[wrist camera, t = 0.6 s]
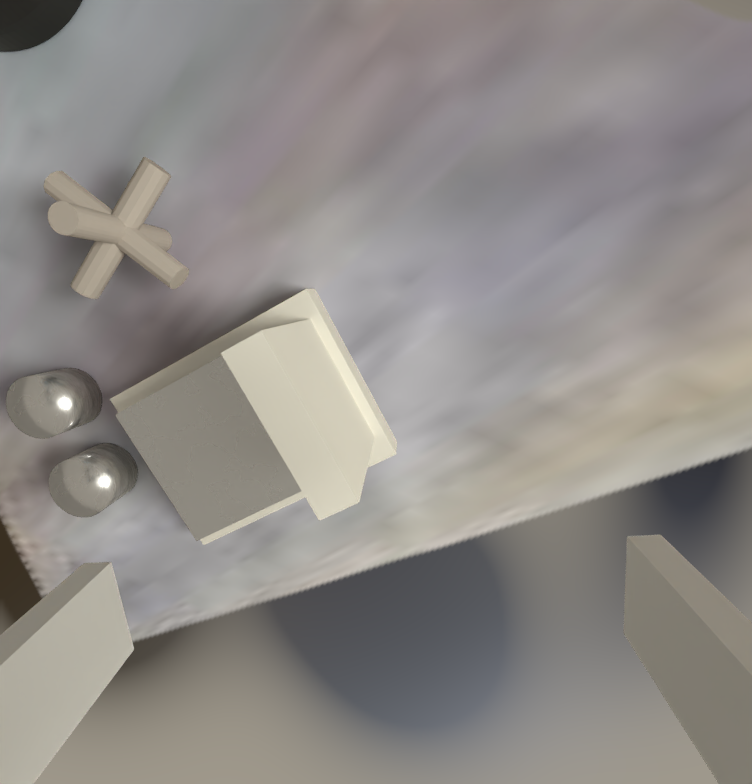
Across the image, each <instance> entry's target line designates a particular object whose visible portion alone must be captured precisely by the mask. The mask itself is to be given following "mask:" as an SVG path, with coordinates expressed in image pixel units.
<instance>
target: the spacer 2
mask: <svg viewBox="0 0 752 784" xmlns="http://www.w3.org/2000/svg"><path fill="white" fill-rule="evenodd" d="M137 479H138V469H137V465H136V462H135V460H134V459H133V457H132V456H131V455H130V453H129V452H128V451H126V450H125V449H124V448H122V447H120V446H118V445H116V444H111V443H102V444H98V445H96V446H94V447H92V448H90V449H87V450H85V451H83V452H81V453H79V454H77V455H75V456H73V457H71V458H69V459H67V460H65V461H62V462H60V463H59V464H57V465H56V466H55V467H54V468H53V470H52V471H51V474H50V476H49V490H50V493H51V496H52V498H53V499H54V501H55V502H56V504H57V505H58V506H59V507H60V508H61V509H62V510H64V511H65V512H67V513H69V514H71V515H73V516H77V517H91V516H94V515H96V514H98V513H99V512H101V511H102V510H104V509H105V508H107V507H108V506H109V505H111V504H112V503H114V502H115V501H116V500H118V499H119V498H121V497H122V496H124V495H125V494H126V493H128V492H129V491H130V490H132V489H133V487H134V486H135V484H136V482H137Z"/></svg>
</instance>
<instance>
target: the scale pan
mask: <svg viewBox="0 0 752 784" xmlns="http://www.w3.org/2000/svg"><path fill="white" fill-rule="evenodd" d="M115 416H116V417H117V419H118V420H119V422H120V424H121V425H122V427H123V428H124V430H125V431H126V433H127V434H128V436H129V437H130V439H131V441H132V442H133V444H134V445H135V447H136V448H137V450H138V451H139V453H140V454H141V456H142V458H143V459H144V461H145V462H146V464H147V465H148V467H149V468H150V470H151V471H152V473H153V475H154V476H155V478H156V479H157V481H158V482H159V484H160V485H161V487H162V488H163V490H164V492H165V493H166V495H167V496H168V498H169V499H170V501H171V502H172V504H173V505H174V507H175V508H176V510H177V512H178V513H179V515H180V516H181V518H182V519H183V521H184V522H185V524H186V525H187V527H188V529H189V530H190V532H191V533H192V535H193V536H194V538H195V539H196V541H198V540H200V539H202V538H204V537H206V536H208V535H211V534H213V533H215V532H217V531H219V530H221V529H223V528H225V527H227V526H229V525H232V524H234V523H236V522H238V521H240V520H242V519H244V518H246V517H248V516H251V515H253V514H255V513H257V512H259V511H261V510H263V509H265V508H267V507H269V506H272V505H274V504H276V503H278V502H280V501H282V500H284V499H286V498H288V497H290V496H293V495H295V494H297V493H299V492H301V491H302V490H301V489H300V487H299V485H298V484H297V482H296V480H295V479H294V477H293V475H292V473H291V472H290V470H289V468H288V467H287V465H286V463H285V462H284V460H283V458H282V456H281V455H280V453H279V451H278V450H277V448H276V446H275V445H274V443H273V441H272V439H271V438H270V436H269V434H268V433H267V431H266V429H265V428H264V426H263V424H262V423H261V421H260V419H259V417H258V416H257V414H256V412H255V411H254V409H253V407H252V406H251V404H250V402H249V400H248V399H247V397H246V395H245V394H244V392H243V390H242V389H241V387H240V385H239V383H238V382H237V380H236V378H235V377H234V375H233V373H232V372H231V370H230V368H229V366H228V365H227V363H226V361H225V360H224V358H223V356H221V357H219V358H217V359H215V360H213V361H212V362H210V363H208V364H206V365H204V366H203V367H201V368H199V369H197V370H195V371H193V372H192V373H190V374H188V375H186V376H184V377H183V378H181V379H179V380H177V381H175V382H174V383H172V384H170V385H168V386H166V387H165V388H163V389H161V390H159V391H157V392H155V393H154V394H152V395H150V396H148V397H146V398H145V399H143V400H141V401H139V402H137V403H136V404H134V405H132V406H130V407H128V408H127V409H125V410H123V411H121V412H119V413H117V414H116V415H115Z"/></svg>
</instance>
